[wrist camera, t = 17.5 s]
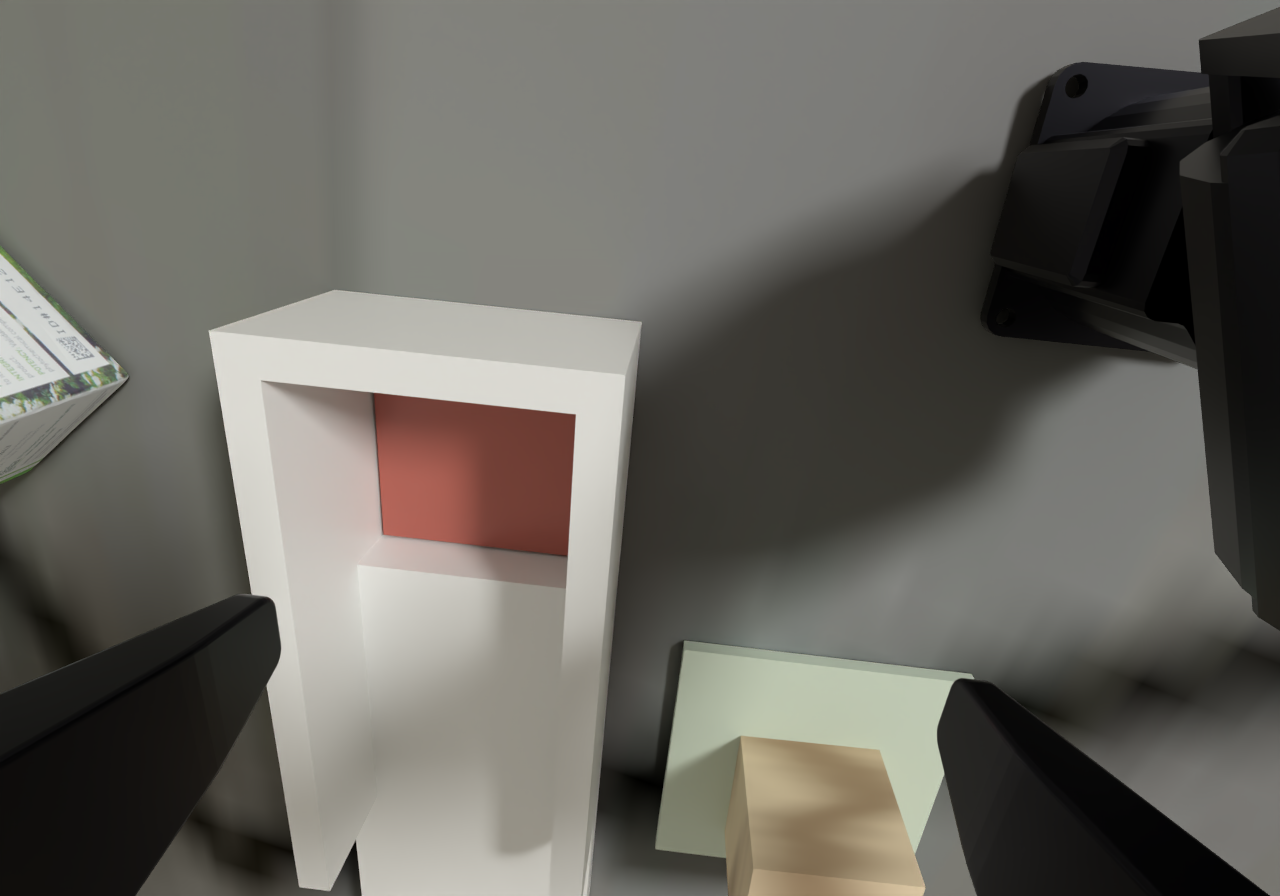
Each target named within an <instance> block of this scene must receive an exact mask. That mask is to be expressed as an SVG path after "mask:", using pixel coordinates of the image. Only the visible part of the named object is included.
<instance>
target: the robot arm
mask: <svg viewBox="0 0 1280 896" xmlns="http://www.w3.org/2000/svg"><path fill="white" fill-rule="evenodd" d="M1199 49H1200V62H1201V73H1197V72H1186V71H1175V70H1164V69H1153V68H1142V67H1132V66H1121V65H1110V64H1099V63H1088V62H1081V63H1074V64H1071V65H1067V66H1065V67H1063V68H1061V69H1059V70H1057V72H1056V73H1055V74H1054V75H1053V76H1052V77H1051V78H1050V80H1049V83H1048V85H1047V87H1046V90H1045V94H1044V97H1043V101H1042V104H1041V108H1040V111H1039V115H1038V118H1037V122H1036V125H1035V128H1034V132H1033V135H1032V139H1031V142H1030V146H1029V147H1028V148H1026V149H1025V150H1024V151H1023V152H1021V153H1020V154H1019V155H1018V158H1017V161H1016V164H1015V168H1014V171H1013V175H1012V178H1011V182H1010V185H1009V189H1008V193H1007V196H1006V200H1005V203H1004V207H1003V210H1002V214H1001V217H1000V221H999V224H998V228H997V231H996V235H995V238H994V242H993V245H992V249H991V253H990V254H991V257H992V258H993V260H994V262H995V267H994V270H993V274H992V277H991V281H990V284H989V288H988V291H987V294H986V298H985V301H984V305H983V308H982V312H981V323H982V326H983V327H984V328H985V329H986V330H987V331H989V332H991V333H993V334H995V335H998V336H1004V337H1014V338H1023V339H1033V340H1043V341H1053V342H1062V343H1072V344H1082V345H1091V346H1101V347H1111V348H1120V349H1130V350H1140V351H1149V352H1153V353H1156V354H1158V355H1161V356H1164V357H1166V358H1169V359H1172V360H1174V361H1177V362H1180V363H1182V364H1185V365H1187V366H1190V367H1193V368H1195V369H1198V378H1199V388H1200V399H1201V410H1202V421H1203V431H1204V442H1205V453H1206V464H1207V474H1208V485H1209V496H1210V506H1211V517H1212V528H1213V539H1214V549H1215V553H1216V555H1217V556H1218V557H1219V559H1220V560H1221V561H1222V563H1223V564H1224V565H1225V567H1226V568H1227V569H1228V570H1229V572H1230V573H1231V574H1232V576H1233V577H1234V578H1235V580H1236V581H1237V582H1238V584H1239V585H1240V586H1241V588H1242V589H1244V590H1245V591H1246V592H1247V593H1249V594H1250V595H1251V596H1252V607H1253V611H1254V612H1255V614H1256V615H1257V616H1258V617H1259V618H1261V619H1262V620H1264V621H1265V622H1267V623H1269V624H1270V625H1272V626H1273V627H1275V628H1276V629H1278V630H1280V7H1279V8H1276V9H1274V10H1271V11H1269V12H1266V13H1264V14H1261V15H1259V16H1256V17H1253V18H1251V19H1248V20H1246V21H1243V22H1241V23H1238V24H1236V25H1233V26H1231V27H1228V28H1226V29H1223V30H1221V31H1218V32H1216V33H1213V34H1211V35H1208V36H1206V37H1203V38H1201V39H1199ZM1071 77H1074V78H1076V79H1077V81H1078V83H1079V88H1078V91H1077V93H1076V95H1075V96H1073V97H1072V98H1070V97H1068V96H1067V94H1066V92H1065V85H1066V83H1067V81H1068V80H1069V79H1070V78H1071ZM1006 308H1008V310H1009V317H1008V319H1007V320H1006V321H1005V322H1003V323H1002V324H997V322H996V316H997V315H998V313H999V312H1000V311H1001V310H1003V309H1006ZM280 655H281V640H280V633H279V626H278V619H277V612H276V607H275V603H274V602H273V600H272V599H271V598H269V597H267V596H259V595H251V594H237V595H234V596H232V597H229V598H227V599H225V600H222V601H220V602H218V603H215V604H213V605H210V606H208V607H206V608H203V609H201V610H198V611H196V612H194V613H191V614H189V615H187V616H184V617H182V618H179V619H177V620H175V621H172V622H170V623H167V624H165V625H163V626H160V627H158V628H155V629H153V630H151V631H148V632H146V633H144V634H141V635H139V636H136V637H134V638H132V639H129V640H127V641H124V642H122V643H120V644H117V645H115V646H112V647H110V648H108V649H105V650H103V651H101V652H98V653H96V654H93V655H91V656H89V657H86V658H84V659H81V660H79V661H77V662H74V663H72V664H70V665H67V666H65V667H62V668H60V669H58V670H55V671H53V672H50V673H48V674H46V675H43V676H41V677H38V678H36V679H34V680H31V681H29V682H27V683H24V684H22V685H19V686H17V687H15V688H12V689H10V690H7V691H5V692H3V693H0V896H136V894H137V893H138V891H139V890H140V888H141V887H142V885H143V884H144V882H145V881H146V879H147V878H148V876H149V875H150V873H151V872H152V870H153V869H154V867H155V866H156V865H157V863H158V862H159V860H160V859H161V857H162V856H163V854H164V853H165V851H166V850H167V848H168V847H169V845H170V844H171V842H172V841H173V839H174V838H175V836H176V835H177V833H178V832H179V831H180V829H181V828H182V826H183V825H184V823H185V822H186V820H187V819H188V817H189V816H190V814H191V813H192V811H193V810H194V808H195V807H196V805H197V804H198V802H199V801H200V799H201V798H202V796H203V795H204V794H205V792H206V791H207V789H208V787H209V786H210V784H211V783H212V781H213V780H214V778H215V777H216V775H217V774H218V772H219V770H220V769H221V767H222V765H223V763H224V762H225V760H226V758H227V757H228V755H229V753H230V751H231V749H232V748H233V746H234V744H235V742H236V740H237V738H238V737H239V735H240V733H241V731H242V729H243V727H244V726H245V724H246V722H247V720H248V718H249V716H250V715H251V713H252V711H253V709H254V707H255V705H256V704H257V702H258V700H259V698H260V696H261V694H262V692H263V691H264V689H265V687H266V685H267V683H268V681H269V680H270V678H271V676H272V674H273V672H274V670H275V669H276V667H277V664H278V662H279V659H280ZM937 744H938V748H939V753H940V757H941V761H942V765H943V769H944V774H945V778H946V782H947V786H948V790H949V795H950V799H951V803H952V807H953V811H954V816H955V820H956V824H957V828H958V832H959V837H960V841H961V845H962V849H963V852H964V856H965V860H966V864H967V867H968V870H969V873H970V876H971V879H972V882H973V885H974V888H975V891H976V894H977V896H1270V895H1268V894H1267V893H1266V892H1264V891H1263V890H1262V889H1260V888H1259V887H1258V886H1257V885H1255V884H1254V883H1253V882H1251V881H1250V880H1249V879H1247V878H1246V877H1245V876H1244V875H1242V874H1241V873H1240V872H1238V871H1237V870H1236V869H1234V868H1233V867H1232V866H1230V865H1229V864H1228V863H1227V862H1225V861H1224V860H1223V859H1221V858H1220V857H1219V856H1217V855H1216V854H1215V853H1214V852H1212V851H1211V850H1210V849H1208V848H1207V847H1206V846H1204V845H1203V844H1202V843H1200V842H1199V841H1198V840H1197V839H1195V838H1194V837H1193V836H1191V835H1190V834H1189V833H1187V832H1186V831H1185V830H1184V829H1182V828H1181V827H1180V826H1178V825H1177V824H1176V823H1174V822H1173V821H1172V820H1170V819H1169V818H1168V817H1167V816H1165V815H1164V814H1163V813H1161V812H1160V811H1159V810H1157V809H1156V808H1155V807H1154V806H1152V805H1151V804H1150V803H1148V802H1147V801H1146V800H1144V799H1143V798H1142V797H1140V796H1139V795H1138V794H1137V793H1135V792H1134V791H1133V790H1131V789H1130V788H1129V787H1127V786H1126V785H1125V784H1124V783H1122V782H1121V781H1120V780H1118V779H1117V778H1116V777H1114V776H1113V775H1112V774H1110V773H1109V772H1108V771H1107V770H1105V769H1104V768H1103V767H1101V766H1100V765H1099V764H1097V763H1096V762H1095V761H1094V760H1092V759H1091V758H1090V757H1088V756H1087V755H1086V754H1084V753H1083V752H1082V751H1080V750H1079V749H1078V748H1077V747H1075V746H1074V745H1073V744H1071V743H1070V742H1069V741H1067V740H1066V739H1065V738H1064V737H1062V736H1061V735H1060V734H1058V733H1057V732H1056V731H1054V730H1053V729H1052V728H1050V727H1049V726H1048V725H1047V724H1045V723H1044V722H1043V721H1041V720H1040V719H1039V718H1037V717H1036V716H1035V715H1033V714H1032V713H1031V712H1030V711H1028V710H1027V709H1026V708H1024V707H1023V706H1022V705H1020V704H1019V703H1018V702H1017V701H1015V700H1014V699H1013V698H1011V697H1010V696H1009V695H1007V694H1006V693H1005V692H1003V691H1002V690H1001V689H1000V688H998V687H997V686H996V685H994V684H993V683H991V682H989V681H984V680H976V679H967V678H959V679H957V680H955V681H954V683H953V684H952V686H951V688H950V691H949V694H948V697H947V700H946V703H945V705H944V708H943V711H942V714H941V717H940V720H939V723H938V727H937Z"/></svg>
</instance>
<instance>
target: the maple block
mask: <svg viewBox="0 0 1280 896" xmlns="http://www.w3.org/2000/svg"><path fill="white" fill-rule="evenodd" d="M725 846H726V864H727V881H728V896H923V894H924V891H925V888H926V887H925V884H924V881H923V878H922V875H921V872H920V869H919V866H918V863H917V860H916V857H915V854H914V851H913V848H912V845H911V842H910V839H909V836H908V833H907V830H906V827H905V824H904V821H903V818H902V815H901V813H900V810H899V807H898V804H897V801H896V798H895V795H894V792H893V789H892V786H891V783H890V780H889V777H888V774H887V771H886V768H885V765H884V762H883V759H882V756H881V753H880V750H876V749H866V748H856V747H846V746H837V745H827V744H817V743H808V742H798V741H788V740H778V739H769V738H759V737H749V736H741V737H740V743H739V749H738V755H737V761H736V767H735V773H734V779H733V785H732V791H731V797H730V803H729V809H728V815H727V821H726V827H725Z"/></svg>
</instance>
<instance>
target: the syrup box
mask: <svg viewBox="0 0 1280 896" xmlns="http://www.w3.org/2000/svg"><path fill="white" fill-rule="evenodd" d="M128 377H129V376H128V373H127V372H126V371H125V370H124V369H123V368H122V367H121V366H120V365H119V364H118V363H117V362H116V361H115V360H114V359H113V358H112V357H111V356H110V355H109V354H108V353H107V352H106V351H105V350H104V349H103V348H102V347H101V346H100V345H99V344H98V343H97V342H95V340H94V339H93V338H92V337H91V336H90V335H89V334H88V333H87V332H86V331H85V330H84V329H83V328H82V327H81V326H79V325H78V324H77V322H76V321H75V320H74V319H73V318H72V317H71V316H70V315H69V314H68V313H67V312H65V311H64V310H63V309H62V307H61V306H60V305H59V304H58V303H56V302H55V300H54V299H53V298H52V297H51V296H50V295H49V294H48V293H47V292H46V291H45V290H44V289H42V288H41V287H40V286H39V285H38V284H37V283H36V282H35V281H34V280H33V279H32V278H31V277H30V276H29V275H28V274H27V273H26V272H25V270H24V269H23V268H22V267H21V266H20V265H19V264H18V263H17V262H16V261H15V260H14V259H13V258H12V257H11V256H10V255H9V254H8V253H7V252H6V251H5V250H4V249H3V248H2V247H1V246H0V484H2V483H4V482H6V481H8V480H11V479H13V478H15V477H18V476H20V475H22V474H24V473H27V472H28V471H30V470H32V468H33V467H34V466H35V465H37V464H38V463H39V462H40V461H41V460H42V459H43V458H44V457H45V456H46V455H47V454H48V453H49V452H50V451H51V450H52V449H54V448H55V447H56V446H57V445H58V444H59V443H60V442H61V441H62V440H63V439H64V438H65V437H66V436H67V435H68V434H69V433H70V432H71V431H72V430H74V429H75V428H76V427H77V426H78V425H79V424H80V423H81V422H82V421H83V420H84V419H85V418H86V417H88V416H89V415H90V414H91V413H92V412H93V411H94V410H95V409H96V408H97V407H98V406H99V405H101V404H102V403H103V402H104V401H105V400H106V399H107V398H108V397H109V396H110V395H111V394H113V393H114V392H115V391H116V390H117V389H118V388H119V387H120V386H121V385H122V384H123V383H124V382H125V381H126V380H127V379H128Z"/></svg>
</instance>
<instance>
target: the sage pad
mask: <svg viewBox="0 0 1280 896" xmlns="http://www.w3.org/2000/svg"><path fill="white" fill-rule="evenodd" d="M959 678H967V679H974V678H973V676H972V674H968V673H959V672H951V671H942V670H934V669H925V668H916V667H908V666H899V665H891V664H882V663H874V662H865V661H856V660H848V659H839V658H831V657H822V656H814V655H805V654H796V653H788V652H779V651H771V650H762V649H754V648H745V647H736V646H728V645H719V644H711V643H702V642H694V641H685V640H684V645H683V652H682V659H681V666H680V673H679V680H678V687H677V694H676V701H675V708H674V715H673V721H672V728H671V735H670V742H669V749H668V756H667V763H666V770H665V777H664V784H663V791H662V798H661V805H660V812H659V819H658V826H657V833H656V844H655V849H657V850H665V851H673V852H681V853H689V854H697V855H705V856H713V857H721V858H726V846H725V827H726V821H727V815H728V809H729V803H730V797H731V791H732V785H733V779H734V773H735V767H736V761H737V755H738V749H739V743H740V737H741V736H749V737H759V738H769V739H778V740H788V741H798V742H808V743H817V744H827V745H837V746H846V747H856V748H866V749H876V750H880V753H881V756H882V759H883V762H884V765H885V768H886V771H887V774H888V777H889V780H890V783H891V786H892V789H893V792H894V795H895V798H896V801H897V804H898V807H899V810H900V813H901V815H902V818H903V821H904V824H905V827H906V830H907V833H908V836H909V839H910V842H911V845H912V848H913V851H914V854H915V852H916V850H917V847H918V844H919V842H920V839H921V836H922V833H923V831H924V828H925V825H926V822H927V820H928V817H929V814H930V812H931V809H932V806H933V803H934V801H935V798H936V795H937V792H938V790H939V787H940V784H941V781H942V779H943V776H944V769H943V765H942V761H941V757H940V753H939V748H938V744H937V727H938V723H939V720H940V717H941V714H942V711H943V708H944V705H945V703H946V700H947V697H948V694H949V691H950V688H951V686H952V684H953V683H954V681H955V680H957V679H959Z"/></svg>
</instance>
